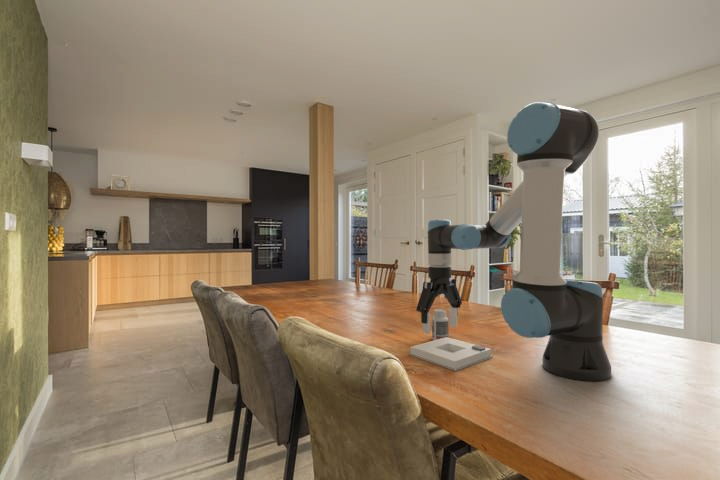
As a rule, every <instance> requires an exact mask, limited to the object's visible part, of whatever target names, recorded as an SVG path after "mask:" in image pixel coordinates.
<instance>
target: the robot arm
mask: <svg viewBox="0 0 720 480" xmlns="http://www.w3.org/2000/svg"><path fill="white" fill-rule="evenodd" d="M506 137H507V138H506V140H507V145H508V147H509V148H510V149H511V152H513V153H514V154H516V166H517V167H518V168H519V169H520V170H521V171H522V173H523V175H522V176H523V177H522V178H523V179H522V181H521V182H520V184H519V185H518V186H517V187H516V189H514V191H513V192H512V193H511V194H510V195H509V196H508V197H507V199H506V200H505V201H504V202H503V204H501V206H500V207H499V208H498V209H497V210H496V211H495V212H494V214H493V215H492V216H491V217H490V218H489V219H488V221H487V222H486V223H485V224H468V223H467V224H464V223H463V224H453V225H452V222H451V220H450V219H431V220H429V221H428V224H427V251H428V252H427V253H428V255H427V257H428V258H427V259H428V261H427V262H428V265H429V266H428V267H427V271H428V272H427V275H428V279H430V282H427V281H424V282H423V283H422V290H421V293H420V295H419V296H420V297H419V300H418V302H417V306H416V308H415V310H416V312H419V313H420V314H421V315H420V316H421V317H420V318H421V319H420V321H421V324H422V330H421V331H422V334H423V333H424V334H427V335H430V334H431V313H430V312H429V311H430V309H431V308H432V305H433V304H434V301H435V300H436V298H437V297H439V295H442V294H443V296H445V298H446V300H447V301H448V303H449V305H450V306H449V308H448V309H449V318H448V327H453V328H458V315H459V313H458V308H459V309H460V308H461V305H463V301H462V298H461V296H460V293H459V290H458V288H457V282H456V281H457V279H454V278H452V267H451V266H452V249H453V250H463V251H465V250H467V251H468V250H474V249H499V248H500V249H501V248H504V247H507V246H508V245H509V243H511V242H510V241H511V238H512V232H513V231H514V230H515V229H516V228H517V227H518V226H519V225H520V224H521V225H520V228H521V229H520V251H519V271H518V272H517V273H516V274H514V276H513V277H512V280H511V281H512V282H511V284H512V285H511V289H509V290H507V291H506V292H505V294H503V295H502V298H501V301H500V309H501V310H500V311H501V315H502V317H503V320H504V322H505V323H506V324H507V325H508V327H509V328H510V330H511V331H512V332H514V333H515V334H516V335H518V336H520V337H522V338H526V339H534V338H536V339H538V338H539V339H541V338H546V337H547V336H549V338H548V342H547V343H546V347H545V348H544V352H543V354H542V359H541V360H542V367H543V368H544V369H545V370H546V371H548V372H550V373H551V374H553V375H554V374H555V375H556V376H559V377H563V378H567V379H572V380H579V381H584V382H585V381H586V382H587V381H589V382H599V381H606V380H609V379H611V378H612V365H611V362H610V360H609V357H608V354H607V351H606V349H605V345H604V343H603V342H604V341H603V340H604V339H603V330H604V329H603V328H604V327H603V325H604V323H603V322H604V321H603V319H604V318H603V317H604V316H603V309H604V308H603V304H604V303H603V302H604V301H603V300H604V296H603V288H602V286H601V285H600V284H599V283H597V282H594V281H593V282H592V281H583V280H574V279H565V278H563V276H562V275H561V257H562V256H561V254H562V252H561V251H562V233H563V231H562V230H563V211H564V192H565V191H564V190H565V178H566V176H567V175H572V174H575V173H576V172H577V171H578V170H580V168H581V167H582V166H583V165H584V164H585V163H586V161H587V160H588V159H589V157H590V156H591V155H592V153H593V152H594V150H595V148H596V147H597V145H598V141H599V137H600V127H599V124H598V121H597V120H596V118H595V117H594V116H593V115H592V114H591V113H590V112H588V111H586V110H583V109H581V108H574V107H569V106H565V105H560V104H556V103H554V102H542V101H537V102H531V103H529V104H527V105H526V106H524V107H522V108H521V109H520V110H519V111H518V112H517V114H516V116H514V117H513V119H512V120H511V122H510V124H509V126H508V129H507V135H506Z"/></svg>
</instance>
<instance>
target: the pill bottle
mask: <svg viewBox="0 0 720 480" xmlns="http://www.w3.org/2000/svg"><path fill="white" fill-rule="evenodd" d="M431 335H432V336H431V338H432V339H431V340H432V341H433V340H437V339H441V338H444V337H448V338H450V337H449V318H448V317H447V309H441V308H438V309H434V310H433V316H432V318H431Z"/></svg>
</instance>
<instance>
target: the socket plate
mask: <svg viewBox="0 0 720 480" xmlns="http://www.w3.org/2000/svg"><path fill="white" fill-rule="evenodd" d="M408 355H409V356H411V357H414V358H416V359H420V360H422V361H425V362H428V363H431V364H434V365H437V366H439V367H442V368H445V369H449V370H451V371H454V372H456V371H460V370H463V369H465V368H468V367H470V366H474V365H476V364H478V363H481V362H484V361H487V360H489V359H492V358H493V355H492V348H489V347H485V346H481V345H479V344H473V343H470V342H466V341H462V340H459V339H456V338H451V337H449V338H448V337H444V338H441V339H437V340H433V339H432V340H430V341H427V342H424V343H423V342H422V343H419V344H416V345H413V346H412V345H411V346H410V353H409V354H408Z"/></svg>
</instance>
